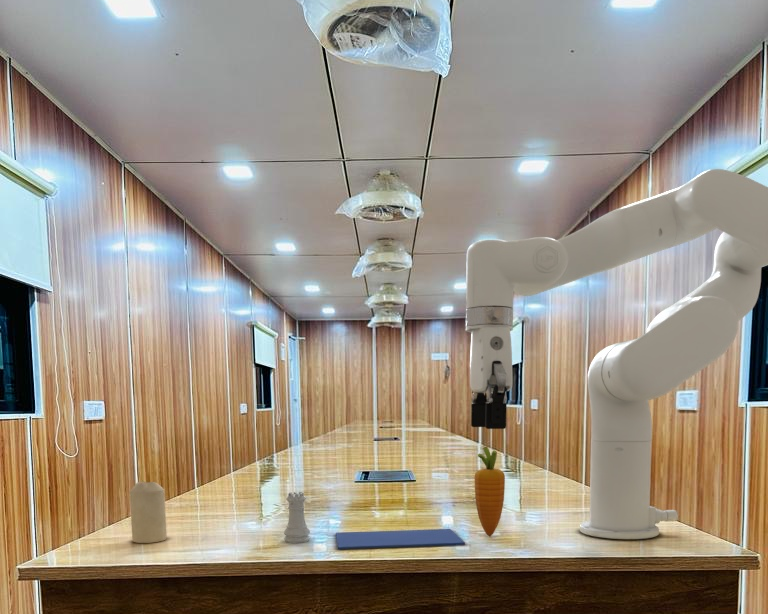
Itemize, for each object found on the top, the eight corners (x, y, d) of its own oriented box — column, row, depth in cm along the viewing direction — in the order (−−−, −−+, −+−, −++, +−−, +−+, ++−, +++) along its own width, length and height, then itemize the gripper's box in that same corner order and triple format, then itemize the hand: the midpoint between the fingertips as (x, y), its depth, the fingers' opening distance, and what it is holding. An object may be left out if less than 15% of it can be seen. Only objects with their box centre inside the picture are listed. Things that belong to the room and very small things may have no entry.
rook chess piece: (316, 540, 109) (315, 492, 108) (295, 544, 106) (293, 495, 105) (299, 537, 112) (297, 490, 111) (278, 541, 109) (276, 493, 108)
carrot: (504, 539, 107) (504, 447, 105) (473, 539, 108) (473, 447, 106) (504, 533, 112) (505, 445, 110) (475, 533, 113) (475, 446, 111)
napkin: (450, 531, 115) (450, 528, 115) (465, 545, 103) (465, 542, 103) (336, 534, 113) (335, 532, 113) (337, 549, 102) (337, 547, 101)
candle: (173, 538, 113) (170, 480, 112) (150, 544, 108) (146, 483, 107) (149, 536, 115) (146, 479, 114) (125, 542, 110) (121, 482, 109)
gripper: (528, 314, 98) (526, 429, 100) (497, 328, 115) (496, 426, 117) (479, 313, 97) (477, 429, 99) (455, 327, 114) (454, 426, 116)
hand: (487, 427), depth 108 cm, fingers open, 9 cm apart
